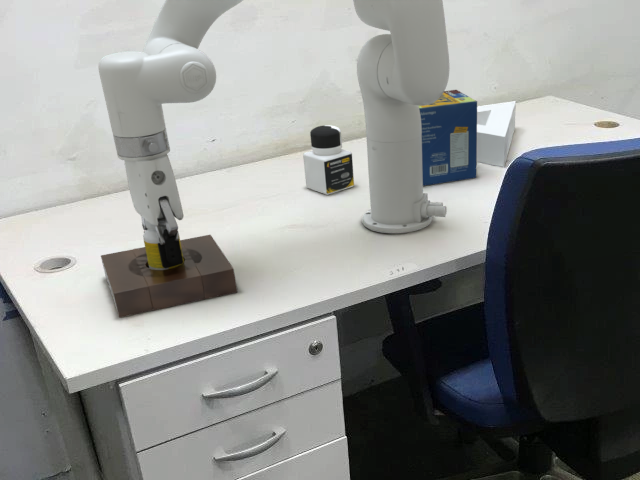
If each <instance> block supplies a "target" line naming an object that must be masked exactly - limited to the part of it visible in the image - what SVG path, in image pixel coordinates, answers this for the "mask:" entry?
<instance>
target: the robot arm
mask: <svg viewBox="0 0 640 480" xmlns="http://www.w3.org/2000/svg"><path fill="white" fill-rule="evenodd" d="M243 1H244V0H165V1H164V3H163V4H162V6H161V8H160V10H159V11H158V13H157V16H156V18H155V20H154V22H153V24H152V26H151V28H150V32H149V34H148V36H147V38H146V40H145V43H144V46H143V49H142V51H138V50H128V51H119V52H113V53H109V54H106V55H104V56H103V57H101V58H100V59H99V62H98V74H99V78H100V82H101V87H102V91H103V97H104V101H105V105H106V109H107V114H108V119H109V124H110V128H111V133H112V137H113V141H114V147H115V150H116V155H117V159H119V160H122V161H124V168H125V173H126V179H127V184H128V189H129V194H130V197H131V202H132V205H133V207H134V208H133V209H134V210H135V212H136V213H138V215H140V218H141V227H142V229H143V233H144V232H145V231H146V230H147V228H146V225H145V220H144V219H146V220H147V221H148V222H149V223H151V224H152V225H155V229H156V232H157V235H158V239H159V242H160V243H157V244H158V249H159V253H160V258H161V263H162V266H163V267H164V268H169V267H173V266H176V265H180V264H182V263H183V258H182V253H181V248H180V243H179V237H180V235H179V236H178V232H179V226H178V225H179V224H178V222H177V220H178V221H183V219H184V209H183V206H182V201H181V197H180V193H179V189H178V184H177V181H176V176H175V173H174V170H173V167H172V162H171V160H170V158H169V155H168V154H169V153H170V152H171V147H170V143H169V137H168V130H167V127H166V122H165V116H164V110H163V105H165V104H190V103H196V102H199V101H201V100H203V99H205V98H207V97H208V96H210V94H211V93H212V91H213V90H214V89H215V85H216V82H217V71H216V68H215V65H214V63H213V61H212V60H211V58H210V57H209V56H208V55H207V54H206V53H204V52H203V51H202V50H200V49H199V47H200V45H201V43H202V41H203V39H204V37H205V36H206V34H207V33H208V31H209V29H210V27H212V25H213V24H214V23H215V22H216V21H217V19H219V18H220V17H221V16H222V15H223V14H225V13H226V12H228V11H229V10H230V9H232V8H235V7H236V6H237V5H239V4H241V3H242V2H243ZM352 2H353V6H354V7H353V8H354V11H355V13H356V16H357V17H358V18H359V20H360V21H361V22H362V23H364V24H365V25H367V26H369V27H372V28H375V29H379V30H384V31H388V32H390V33H383V34H378V35H375V36H373V37H371V38H370V39H368V40H367V41H366V42H365V43H364V44H363V46H362V47H361V49H360V50H359V53H358V56H357V61H356V75H357V76H356V77H357V81H358V86H359V90H360V94H361V98H362V105H363V111H364V123H365V136H366V137H365V138H366V153H367V170H368V187H369V188H368V189H369V200H370V201H369V202H370V203H369V204H370V209H368V210H367V211H365V212H364V214H362V224H363V226H364V227H365V228H367V229H369V230H371V231H373V232H378V233H383V234H404V233H405V234H407V233H411V232H415V231H416V232H417V231H419V230H421V229H425V228H426V227H428V226H429V225H430V224H431V223H432V221H433V217H436V218H438V217H439V218H446V215H447V210H448V209H447V206H446V205H444V203H443V201H441V202H439V201H434V202H433V201H431V200H429V195H428V193H426V192H424V186H423V172H422V126H421V116H420V110H419V106H424V105H429V104H432V103H434V102H435V101H437V100H438V99H439V98H440V97H441V95H442V94H443V93H444V91H446V88H447V85H448V82H449V78H450V54H449V45H448V36H447V26H446V19H445V9H444V2H443V0H352ZM160 218H164V220H165V221H164V222H160V223H159V221H158V219H160ZM176 219H177V220H176ZM162 226H166V229H165V230H164V232H163V233H162V230H161V227H162Z"/></svg>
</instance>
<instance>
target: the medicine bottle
mask: <svg viewBox="0 0 640 480" xmlns="http://www.w3.org/2000/svg"><path fill="white" fill-rule="evenodd" d="M309 135H310V144H311V150H310V151H307V152H303V155H302V159H303V168H304V169H303V170H304V176H305V187H306V188H307V189H309V190H312V191H315V192H317V193H321V194H323V195H326V196H328V195H332V194H335V193H338V192H341V191H344V190H347V189H350V188H354V186H355V179H354V177H355V176H354V165H353V152H352V151H350V150H346V149H343V141H342V140H343V138H342V130H341V129H340V127H338V126H336V125H330V124H326V125H325V124H324V125H318V126H316V127H313V128H312V129H311V130H310V132H309Z"/></svg>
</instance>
